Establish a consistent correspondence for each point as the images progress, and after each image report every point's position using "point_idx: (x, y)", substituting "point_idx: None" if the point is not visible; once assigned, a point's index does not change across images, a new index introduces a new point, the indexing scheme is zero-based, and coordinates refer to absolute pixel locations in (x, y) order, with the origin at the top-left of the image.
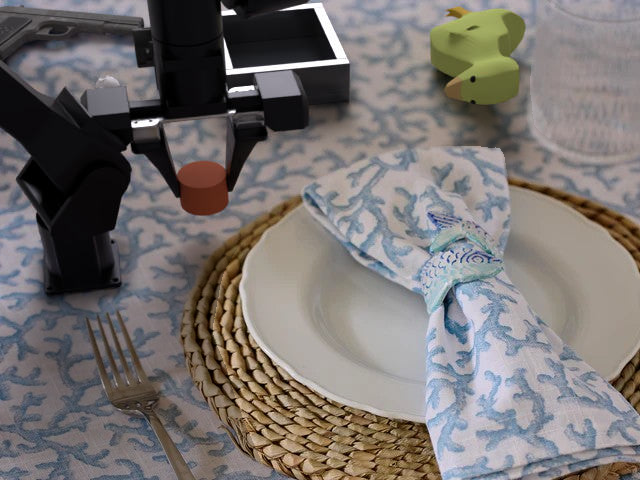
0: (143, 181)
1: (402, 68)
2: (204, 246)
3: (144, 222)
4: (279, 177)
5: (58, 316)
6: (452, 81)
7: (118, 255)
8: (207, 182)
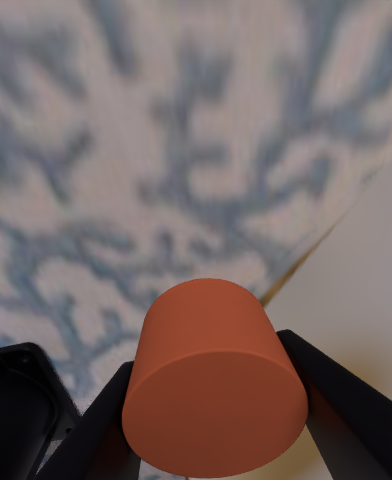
0: (3, 105)
1: None
2: None
3: (67, 276)
4: (377, 84)
5: None
6: None
7: (53, 385)
8: (239, 458)
